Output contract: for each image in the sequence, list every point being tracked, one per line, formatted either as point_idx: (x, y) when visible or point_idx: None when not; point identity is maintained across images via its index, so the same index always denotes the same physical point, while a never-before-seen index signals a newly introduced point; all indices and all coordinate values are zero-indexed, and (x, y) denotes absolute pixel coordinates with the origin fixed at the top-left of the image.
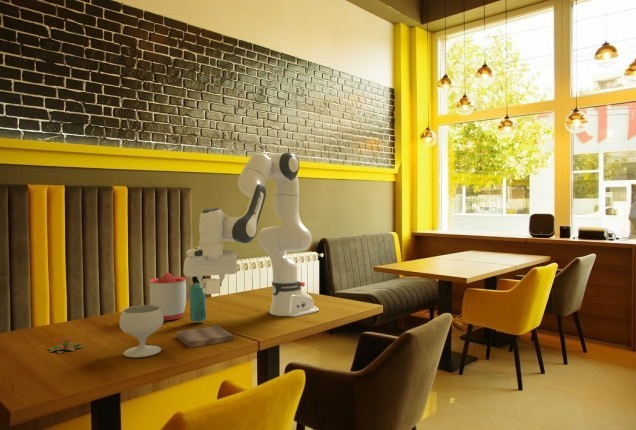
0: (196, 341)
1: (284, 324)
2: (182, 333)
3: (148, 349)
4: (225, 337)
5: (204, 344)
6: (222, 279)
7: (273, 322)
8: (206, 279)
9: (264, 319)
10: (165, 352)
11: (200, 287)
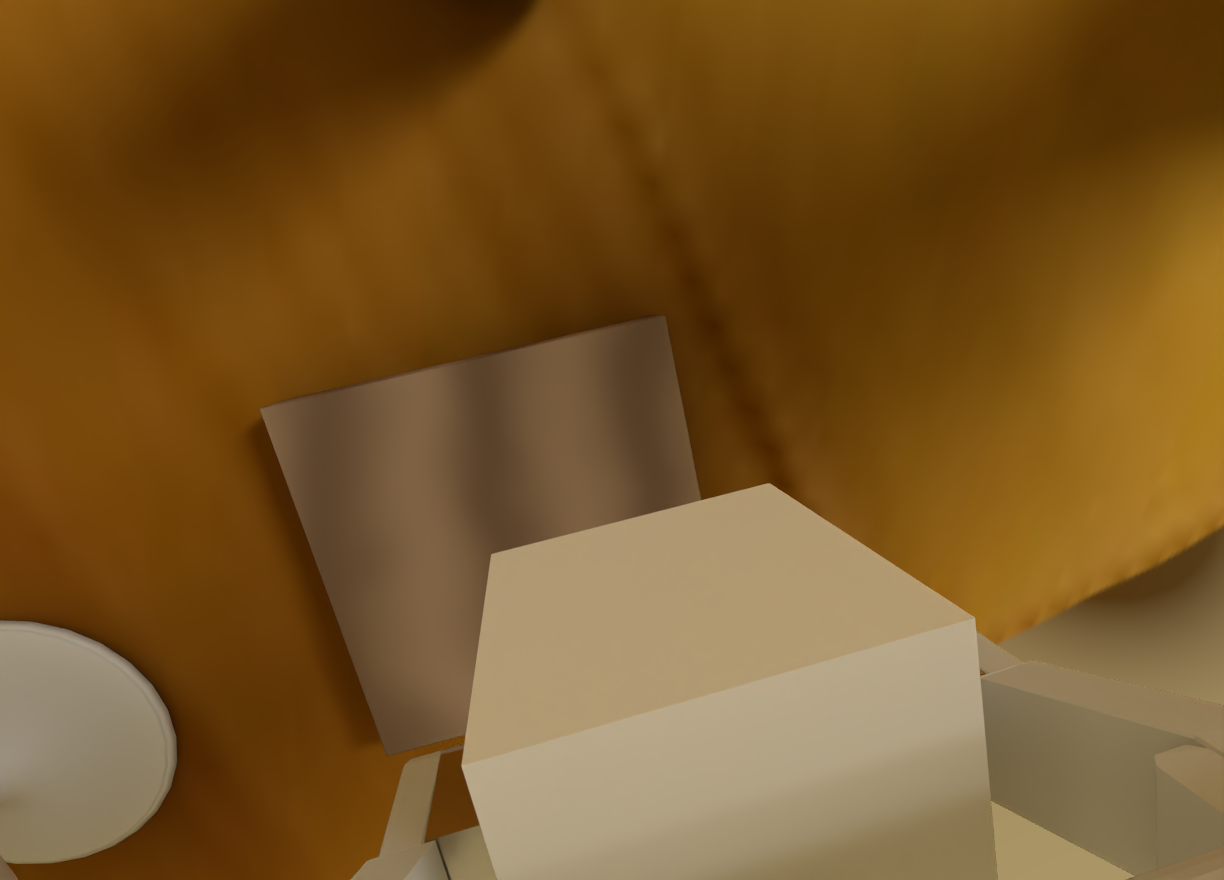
0: (441, 739)
1: (1200, 330)
2: (318, 490)
3: (65, 793)
4: None
5: None
6: (1119, 842)
7: (1156, 226)
8: (607, 871)
9: (1135, 76)
10: (219, 774)
11: (415, 769)
